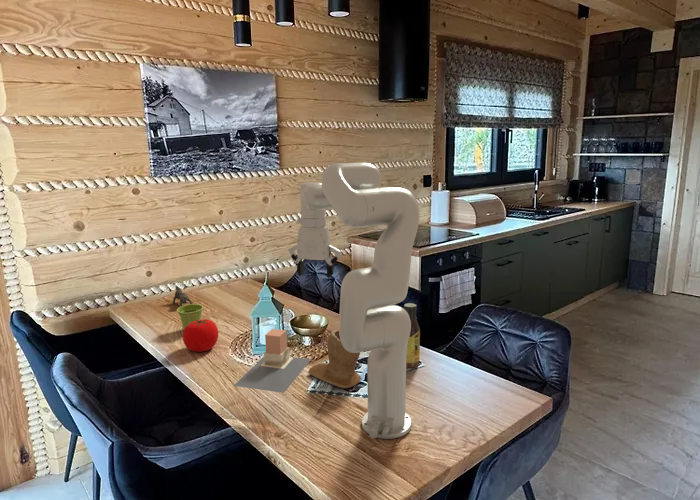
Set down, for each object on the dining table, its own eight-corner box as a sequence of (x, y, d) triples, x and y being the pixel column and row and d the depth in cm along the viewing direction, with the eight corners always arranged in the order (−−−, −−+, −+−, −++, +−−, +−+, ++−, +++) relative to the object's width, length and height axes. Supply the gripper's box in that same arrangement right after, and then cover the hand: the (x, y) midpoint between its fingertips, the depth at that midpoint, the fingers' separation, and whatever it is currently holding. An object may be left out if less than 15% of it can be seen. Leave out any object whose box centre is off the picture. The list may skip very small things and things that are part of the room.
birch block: (282, 366, 156) (281, 355, 155) (264, 364, 158) (263, 353, 157) (289, 358, 161) (289, 347, 161) (272, 356, 163) (272, 345, 162)
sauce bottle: (418, 369, 155) (419, 309, 150) (398, 368, 156) (399, 308, 152) (420, 360, 161) (421, 302, 157) (400, 358, 162) (401, 301, 158)
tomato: (192, 359, 165) (189, 329, 162) (179, 348, 173) (176, 320, 171) (225, 349, 172) (223, 320, 170) (211, 338, 181) (209, 311, 178)
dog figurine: (171, 303, 220) (169, 287, 218) (183, 300, 223) (182, 284, 222) (180, 310, 211) (179, 293, 209) (194, 307, 214) (192, 290, 213)
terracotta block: (280, 354, 156) (279, 336, 154) (266, 352, 157) (265, 335, 156) (287, 347, 160) (286, 330, 159) (272, 346, 162) (272, 329, 160)
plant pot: (206, 332, 187) (204, 310, 185) (180, 336, 184) (177, 314, 182) (203, 323, 196) (201, 302, 194) (178, 327, 192) (176, 306, 190)
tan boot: (370, 379, 149) (370, 333, 146) (344, 395, 141) (342, 346, 137) (334, 364, 159) (333, 320, 156) (307, 378, 151) (305, 332, 147)
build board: (284, 396, 141) (284, 392, 140) (233, 388, 145) (233, 385, 145) (311, 362, 161) (311, 359, 161) (266, 356, 166) (266, 353, 165)
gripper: (282, 223, 153) (285, 277, 157) (336, 225, 148) (337, 280, 152) (292, 219, 160) (294, 270, 164) (343, 221, 155) (344, 274, 159)
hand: (315, 275), depth 158 cm, fingers open, 9 cm apart
